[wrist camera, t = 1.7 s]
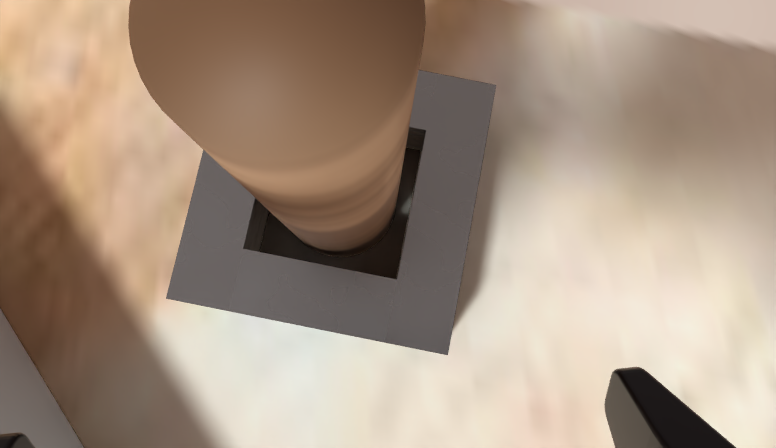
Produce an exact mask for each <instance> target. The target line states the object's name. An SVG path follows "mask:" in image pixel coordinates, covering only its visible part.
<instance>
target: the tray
mask: <svg viewBox="0 0 776 448" xmlns="http://www.w3.org/2000/svg"><path fill="white" fill-rule="evenodd" d="M17 432H21V433H23V434H25V435H26V436H27V437H28V438H29V439H30V441H31V442H32V444H33V445H34V446H35V448H84V447H83V445H82V443H81V442H80V440H79V438H78V437H77V435H76V433H75V432H74V430H73V428H72V427H71V425H70V423H69V422H68V420H67V418H66V417H65V415H64V413H63V412H62V410H61V408H60V407H59V405H58V404H57V402H56V400H55V399H54V397H53V395H52V394H51V392H50V390H49V389H48V387H47V385H46V384H45V382H44V380H43V379H42V377H41V375H40V374H39V372H38V370H37V369H36V367H35V365H34V364H33V362H32V360H31V359H30V357H29V355H28V354H27V352H26V350H25V349H24V347H23V345H22V344H21V342H20V340H19V339H18V337H17V335H16V334H15V332H14V330H13V329H12V327H11V325H10V324H9V322H8V320H7V319H6V317H5V315H4V314H3V312H2V310H1V309H0V434H8V433H17Z"/></svg>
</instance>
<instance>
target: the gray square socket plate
mask: <svg viewBox="0 0 776 448" xmlns="http://www.w3.org/2000/svg"><path fill="white" fill-rule="evenodd" d="M495 89H496V85H493V84H488V83H483V82H478V81H473V80H468V79H462V78H457V77H452V76H447V75H442V74H437V73H432V72H427V71H421V70H418V76H417V82H416V88H415V94H414V100H413V106H412V112H411V118H410V124H409V130H408V136H407V142H406V148H411V149H416V150H421V153H420V158H419V163H418V168H417V173H416V178H415V183H414V189H413V194H412V199H411V204H410V209H409V214H408V219H407V224H406V229H405V234H404V240H403V245H402V250H401V255H400V260H399V265H398V270H397V275H396V279H392V278H387V277H382V276H377V275H372V274H367V273H362V272H357V271H352V270H347V269H342V268H337V267H332V266H327V265H322V264H317V263H312V262H307V261H302V260H297V259H292V258H287V257H282V256H277V255H272V254H267V253H262V252H260V247H261V243H262V239H263V234H264V230H265V226H266V221H267V217H268V213H269V210H268V209H267V208H266V207H265V206H263V205H262V204H261V203H260V202H259V201H258V200H257V199H256V198H255V197H254V196H253V195H252V194H251V193H250V192H248V191H247V190H246V189H245V188H244V187H243V186H242V185H241V184H240V183H239V182H238V181H237V180H236V179H235V178H233V177H232V176H231V175H230V174H229V173H228V172H227V171H226V170H225V169H224V168H223V167H222V166H221V165H220V164H219V163H217V162H216V161H215V160H214V159H213V158H212V157H211V156H210V155H209V154H208V153H207V152H206V151H205V150H203V154H202V158H201V162H200V166H199V170H198V174H197V178H196V182H195V186H194V190H193V194H192V198H191V201H190V205H189V209H188V213H187V217H186V221H185V225H184V229H183V233H182V237H181V241H180V245H179V249H178V253H177V257H176V261H175V265H174V269H173V273H172V277H171V281H170V285H169V289H168V293H167V297H166V299H171V300H176V301H181V302H186V303H191V304H196V305H201V306H206V307H211V308H216V309H221V310H226V311H231V312H236V313H241V314H246V315H251V316H256V317H261V318H266V319H271V320H276V321H281V322H286V323H291V324H296V325H301V326H306V327H311V328H315V329H320V330H325V331H330V332H335V333H340V334H345V335H350V336H355V337H360V338H365V339H370V340H375V341H380V342H385V343H390V344H395V345H400V346H405V347H410V348H415V349H420V350H425V351H430V352H435V353H440V354H445V355H448V350H449V345H450V339H451V334H452V328H453V323H454V317H455V311H456V306H457V300H458V295H459V289H460V284H461V278H462V273H463V267H464V261H465V256H466V250H467V245H468V239H469V234H470V228H471V222H472V217H473V211H474V206H475V200H476V195H477V189H478V184H479V178H480V172H481V167H482V161H483V156H484V150H485V145H486V139H487V133H488V128H489V122H490V117H491V111H492V106H493V100H494V94H495Z"/></svg>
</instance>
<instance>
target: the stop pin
mask: <svg viewBox="0 0 776 448" xmlns="http://www.w3.org/2000/svg"><path fill="white" fill-rule="evenodd" d="M424 31H425V3H424V0H131V1H130V7H129V36H130V45H131V49H132V53H133V58H134V62H135V64H136V67H137V69H138V72H139V74H140V77H141V79H142V81H143V83H144V85H145V86H146V88H147V90H148V92H149V93H150V95H151V96H152V98H153V99H154V100H155V102H156V103H157V104H158V105H159V107H160V108H161V109H162V111H163V112H165V113H166V114H167V115H168V116H169V117H170V118H171V119H172V120H173V121H174V122H175V123H176V124H177V125H178V126H179V127H180V128H181V129H182V130H183V131H184V132H185V133H186V134H187V135H189V136H190V137H191V138H192V139H193V140H194V141H195V142H196V143H197V144H198V145H199V146H200V147H201V148H202V149H204V150H205V151H206V152H207V153H208V154H209V155H210V156H211V157H212V158H213V159H214V160H215V161H216V162H217V163H219V164H220V165H221V166H222V167H223V168H224V169H225V170H226V171H227V172H228V173H229V174H230V175H231V176H232V177H233V178H235V179H236V180H237V181H238V182H239V183H240V184H241V185H242V186H243V187H244V188H245V189H246V190H247V191H248V192H250V193H251V194H252V195H253V196H254V197H255V198H256V199H257V200H258V201H259V202H260V203H261V204H262V205H263V206H265V207H266V208H267V209H268V210H269V211H270V212H271V213H272V214H273V215H274V216H275V217H276V218H277V219H278V220H279V221H281V222H282V223H283V224H284V225H285V226H286V227H287V228H288V229H289V230H290V231H291V232H292V233H293V234H294V235H296V236H297V237H298V238H299V239H300V240H301V241H302V242H303V243H304V244H305V245H307V246H308V247H309V248H311V249H313V250H314V251H316V252H318V253H321V254H323V255H327V256H332V257H348V256H354V255H357V254H360V253H363V252H365V251H367V250H368V249H370V248H372V247H373V246H374V245H376V244H377V243H378V242H379V241H380V240H381V239H382V238H383V237H384V235H385V234H386V233H387V231H388V229H389V228H390V226H391V223H392V221H393V218H394V214H395V208H396V202H397V196H398V190H399V184H400V178H401V172H402V166H403V160H404V154H405V148H406V142H407V136H408V130H409V124H410V118H411V112H412V106H413V100H414V94H415V88H416V82H417V76H418V70H419V64H420V58H421V52H422V46H423V40H424Z"/></svg>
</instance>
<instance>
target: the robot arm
mask: <svg viewBox="0 0 776 448" xmlns="http://www.w3.org/2000/svg"><path fill="white" fill-rule="evenodd" d="M605 413H606V417H607V421H608V424H609V428H610V431H611V434H612V438H613V441H614V445H615V448H736V447H735V446H734V445H732V444H731V443H730V442H729V441H728V440H727V439H725V438H724V437H723V436H722V435H721V434H719V433H718V432H717V431H716V430H715V429H714V428H712V427H711V426H710V425H709V424H708V423H707V422H705V421H704V420H703V419H702V418H701V417H700V416H698V415H697V414H696V413H695V412H694V411H692V410H691V409H690V408H689V407H688V406H687V405H685V404H684V403H683V402H682V401H681V400H680V399H678V398H677V397H676V396H675V395H674V394H673V393H671V392H670V391H669V390H668V389H667V388H665V387H664V386H663V385H662V384H661V383H660V382H658V381H657V380H656V379H655V378H654V377H653V376H651V375H650V374H649V373H648V372H647V371H645V370H644V369H642V368H639V367H630V368H621V369H616V370H615V371H614V372H613V373H612V375H611V379H610V383H609V387H608V391H607V395H606V399H605ZM0 448H35V446H34V445H33V444H32V442H31V441H30V439H29V438H28V437H27V436H26V435H25V434H23V433H21V432H17V433H8V434H0Z"/></svg>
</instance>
